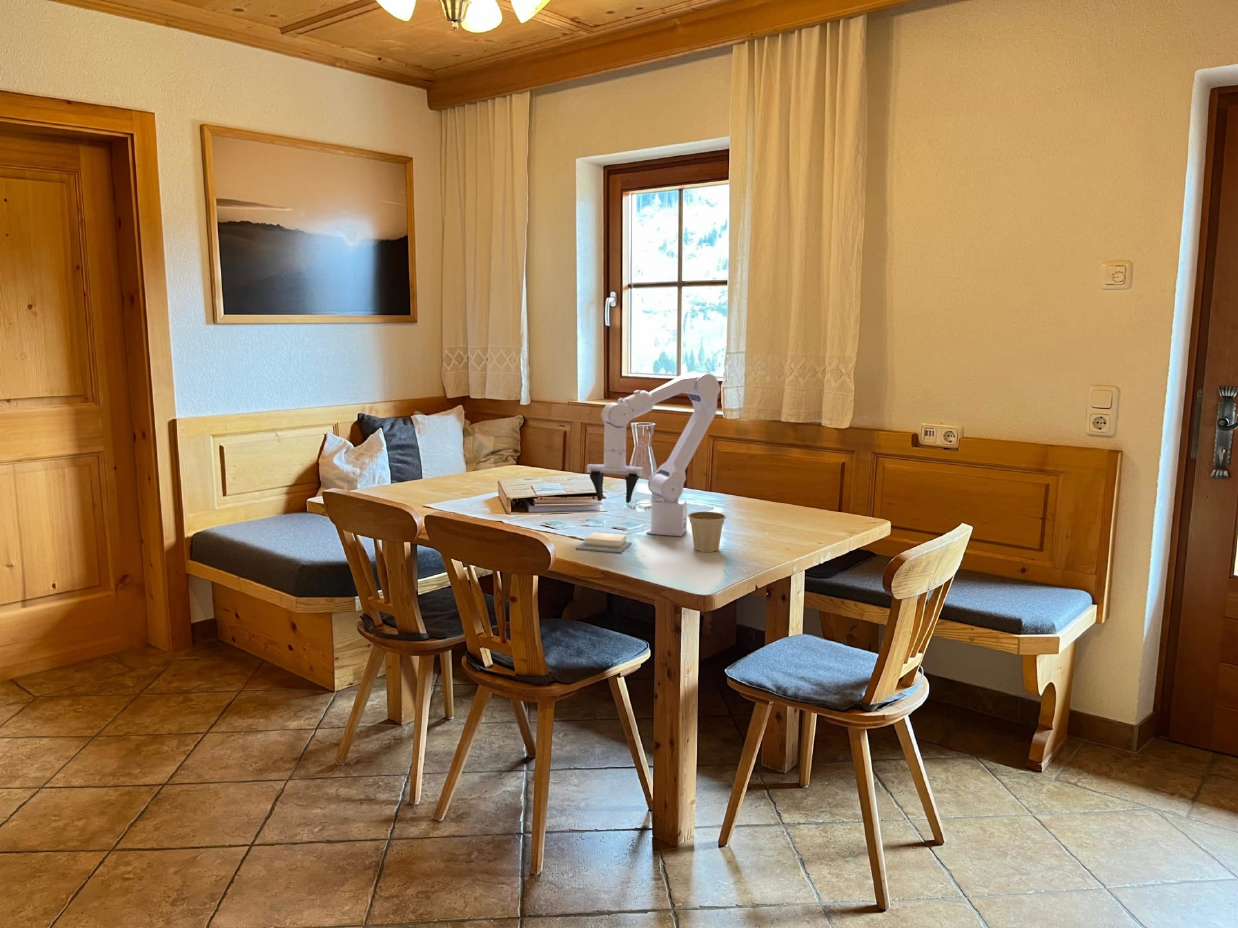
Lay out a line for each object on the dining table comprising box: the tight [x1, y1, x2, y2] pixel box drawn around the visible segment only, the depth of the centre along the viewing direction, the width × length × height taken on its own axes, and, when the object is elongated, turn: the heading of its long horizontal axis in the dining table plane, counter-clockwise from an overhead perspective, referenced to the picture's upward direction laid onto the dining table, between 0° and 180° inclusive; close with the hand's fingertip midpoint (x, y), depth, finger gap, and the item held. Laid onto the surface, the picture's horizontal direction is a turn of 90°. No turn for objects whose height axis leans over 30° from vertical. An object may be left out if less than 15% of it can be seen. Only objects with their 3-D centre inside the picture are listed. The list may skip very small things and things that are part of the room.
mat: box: [575, 541, 632, 554], centre depth 233 cm, size 12×10×1 cm
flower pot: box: [687, 511, 727, 553], centre depth 231 cm, size 9×9×9 cm
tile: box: [584, 531, 627, 547], centre depth 235 cm, size 9×2×6 cm
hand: (614, 501), depth 242 cm, fingers open, 7 cm apart
